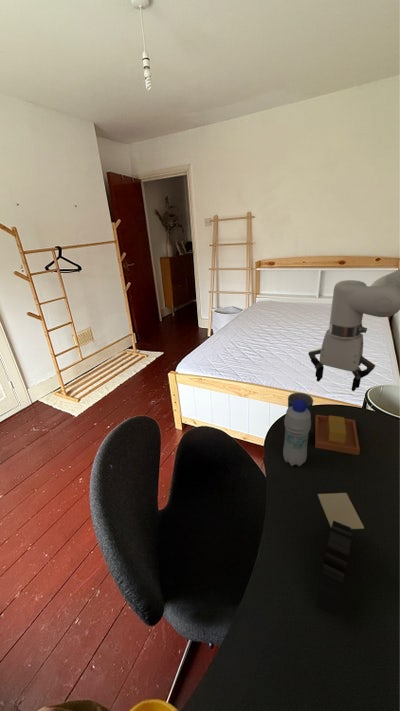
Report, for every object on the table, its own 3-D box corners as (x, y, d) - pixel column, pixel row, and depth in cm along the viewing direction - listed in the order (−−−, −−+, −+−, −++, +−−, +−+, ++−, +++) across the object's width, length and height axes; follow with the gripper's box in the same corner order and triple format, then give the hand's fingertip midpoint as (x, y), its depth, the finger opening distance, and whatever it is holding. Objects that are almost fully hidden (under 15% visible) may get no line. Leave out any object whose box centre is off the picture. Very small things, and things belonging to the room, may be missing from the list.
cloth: (346, 493, 73) (346, 492, 73) (364, 528, 65) (364, 527, 65) (317, 494, 73) (317, 494, 73) (331, 530, 65) (331, 529, 65)
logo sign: (332, 527, 66) (338, 492, 61) (349, 534, 64) (357, 498, 59) (313, 613, 52) (320, 577, 47) (335, 625, 50) (344, 589, 46)
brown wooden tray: (315, 419, 99) (315, 414, 98) (353, 425, 95) (354, 420, 94) (314, 447, 87) (315, 442, 87) (358, 455, 84) (359, 449, 83)
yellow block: (327, 425, 95) (328, 415, 93) (342, 427, 94) (344, 417, 92) (328, 442, 88) (329, 431, 87) (344, 444, 87) (346, 434, 85)
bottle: (309, 456, 85) (316, 397, 76) (303, 472, 79) (310, 412, 71) (285, 448, 88) (289, 391, 79) (278, 464, 83) (282, 405, 74)
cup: (285, 446, 89) (288, 405, 82) (285, 431, 94) (287, 391, 88) (309, 449, 87) (314, 407, 80) (307, 433, 93) (312, 393, 86)
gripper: (384, 329, 76) (372, 386, 83) (316, 319, 86) (311, 371, 94) (378, 339, 71) (365, 399, 78) (306, 327, 81) (301, 381, 89)
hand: (336, 384), depth 86 cm, fingers open, 9 cm apart
